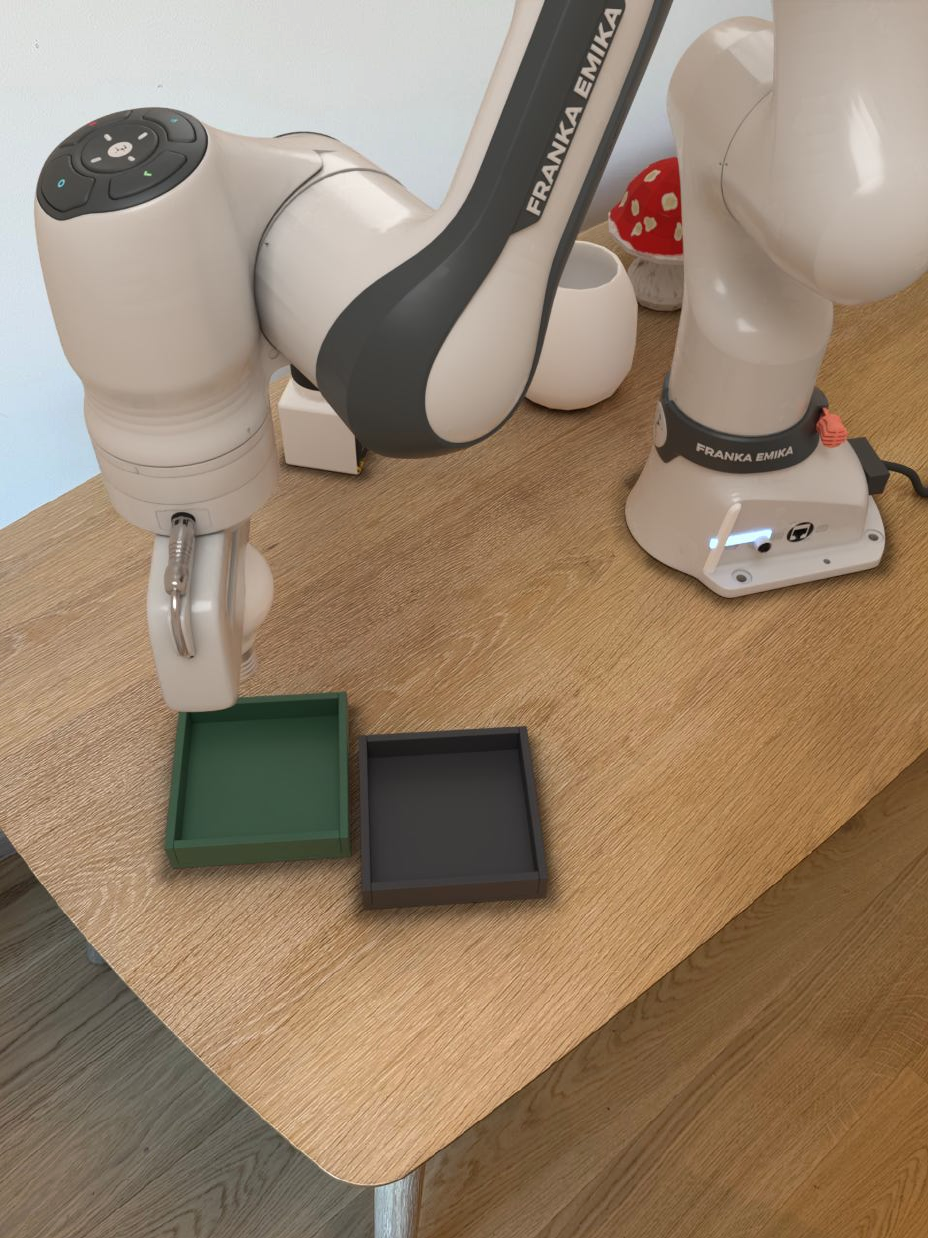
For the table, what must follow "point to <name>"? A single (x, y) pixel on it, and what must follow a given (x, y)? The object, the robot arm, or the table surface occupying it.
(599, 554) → the table surface
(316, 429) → the medicine bottle
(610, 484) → the table surface
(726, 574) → the robot arm
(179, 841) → the bulb tray
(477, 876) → the tray
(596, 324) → the white vase
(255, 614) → the lightbulb
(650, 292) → the decorative mushroom
